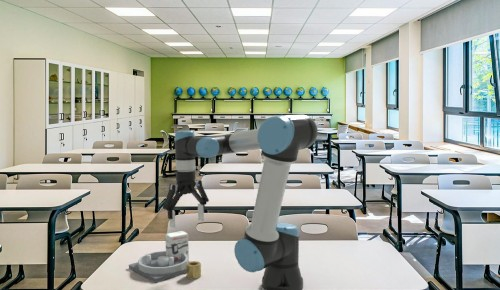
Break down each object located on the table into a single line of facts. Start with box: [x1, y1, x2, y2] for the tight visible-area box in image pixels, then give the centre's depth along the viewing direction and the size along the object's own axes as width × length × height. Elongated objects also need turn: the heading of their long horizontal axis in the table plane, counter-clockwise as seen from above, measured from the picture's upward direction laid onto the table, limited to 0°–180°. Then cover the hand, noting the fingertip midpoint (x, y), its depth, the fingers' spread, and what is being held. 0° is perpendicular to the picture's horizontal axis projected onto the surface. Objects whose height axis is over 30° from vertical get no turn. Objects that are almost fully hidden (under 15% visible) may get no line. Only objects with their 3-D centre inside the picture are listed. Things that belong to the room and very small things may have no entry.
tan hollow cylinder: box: [186, 260, 202, 280], centre depth 179 cm, size 5×5×5 cm
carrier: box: [128, 250, 191, 284], centre depth 187 cm, size 20×20×6 cm
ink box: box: [165, 230, 190, 261], centre depth 195 cm, size 8×5×12 cm, turn 123°
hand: (187, 223), depth 183 cm, fingers open, 13 cm apart
